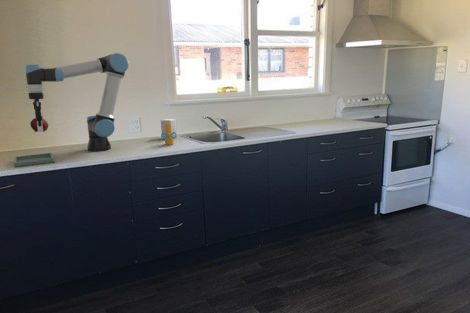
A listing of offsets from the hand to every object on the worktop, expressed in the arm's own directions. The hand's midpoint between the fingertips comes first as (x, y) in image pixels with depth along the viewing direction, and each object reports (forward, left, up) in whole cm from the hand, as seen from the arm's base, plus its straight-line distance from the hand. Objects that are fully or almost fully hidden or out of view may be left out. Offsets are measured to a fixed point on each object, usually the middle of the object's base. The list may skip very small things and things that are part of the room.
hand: (40, 130), depth 218 cm
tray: (+5, -1, -18) cm, 19 cm away
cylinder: (-81, -5, -18) cm, 83 cm away
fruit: (0, 0, -1) cm, 1 cm away
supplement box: (-90, -29, -18) cm, 96 cm away
